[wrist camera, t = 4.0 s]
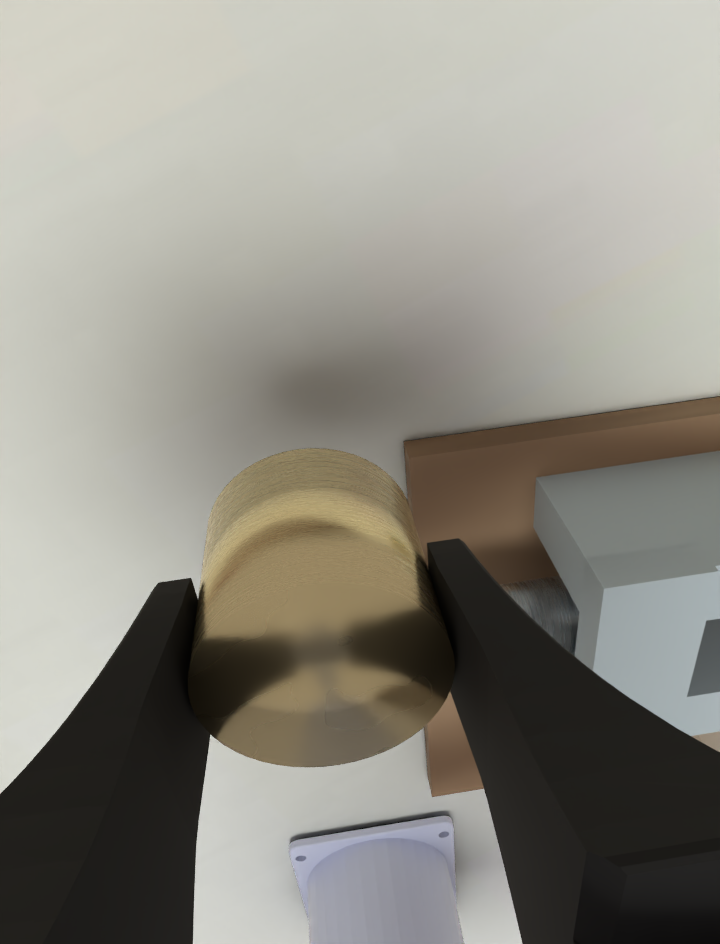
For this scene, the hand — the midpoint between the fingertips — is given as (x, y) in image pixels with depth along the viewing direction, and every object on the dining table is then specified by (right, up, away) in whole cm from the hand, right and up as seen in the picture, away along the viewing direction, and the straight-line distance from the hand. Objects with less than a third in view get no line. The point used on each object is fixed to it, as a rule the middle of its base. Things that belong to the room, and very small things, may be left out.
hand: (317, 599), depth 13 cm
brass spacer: (0, +1, +2) cm, 2 cm away
